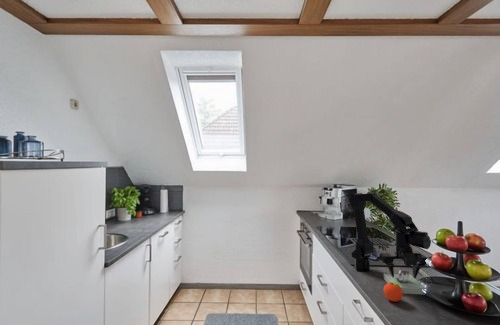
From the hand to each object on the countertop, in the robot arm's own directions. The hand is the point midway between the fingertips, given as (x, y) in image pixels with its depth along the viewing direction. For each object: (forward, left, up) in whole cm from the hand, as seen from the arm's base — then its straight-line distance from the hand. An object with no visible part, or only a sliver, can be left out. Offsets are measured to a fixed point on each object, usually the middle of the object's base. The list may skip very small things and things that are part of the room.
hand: (403, 277), depth 117 cm
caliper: (+14, +18, -4) cm, 23 cm away
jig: (0, 0, -4) cm, 4 cm away
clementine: (-9, -13, -4) cm, 17 cm away
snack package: (-1, +37, -4) cm, 37 cm away
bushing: (0, 0, -4) cm, 4 cm away
